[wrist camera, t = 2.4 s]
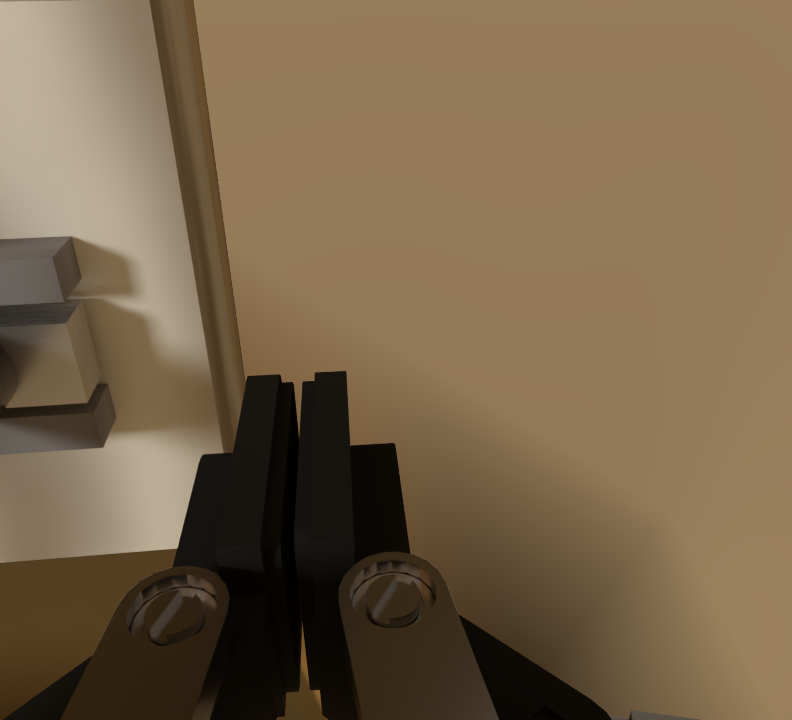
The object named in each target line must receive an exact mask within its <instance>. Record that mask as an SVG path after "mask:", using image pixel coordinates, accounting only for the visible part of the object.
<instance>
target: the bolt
mask: <svg viewBox="0 0 792 720" xmlns="http://www.w3.org/2000/svg"><path fill="white" fill-rule="evenodd" d="M100 377H101V373H100V369H99V365H98V361H97V357H96V353H95V349H94V345H93V341H92V337H91V333H90V329H89V325H88V321H87V317H86V313H85V310H84V306H83V302H82V300H69V301H65V302H60V303H40V304H21V305H1V306H0V415H1V413H2V412H3V411H4V409H5V408H16V407H31V406H47V405H63V404H78V403H88V401H89V399H90V397H91V395H92V393H93V391H94V389H95V387H96V385H97V383H98V381H99V379H100Z"/></svg>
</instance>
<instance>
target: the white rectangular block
mask: <svg viewBox="0 0 792 720" xmlns="http://www.w3.org/2000/svg"><path fill="white" fill-rule="evenodd" d="M69 300H82V302H83V306H84V310H85V313H86V317H87V321H88V325H89V329H90V333H91V337H92V341H93V345H94V349H95V353H96V357H97V361H98V365H99V369H100V373H101V377H100V379H99V381H98V383H97V385H96V387H95V389H94V391H93V393H92V395H91V397H90V399H89V401H88V403H78V404H63V405H47V406H31V407H16V408H5V409H4V411H3V412H2V413H1V415H0V563H3V562H16V561H28V560H40V559H52V558H65V557H77V556H89V555H101V554H114V553H126V552H138V551H150V550H163V549H175V548H178V544H179V540H180V536H181V532H182V528H183V524H184V520H185V516H186V512H187V508H188V504H189V500H190V496H191V492H192V488H193V484H194V480H195V476H196V472H197V468H198V464H199V461H200V458H201V456H202V455H203V454H216V453H233V449H234V444H235V438H236V433H237V428H238V423H239V417H240V412H241V407H242V401H243V396H244V391H245V385H246V384H245V377H244V370H243V362H242V355H241V347H240V340H239V333H238V326H237V318H236V311H235V304H234V296H233V289H232V281H231V274H230V267H229V259H228V252H227V245H226V237H225V230H224V223H223V215H222V208H221V201H220V194H219V186H218V179H217V171H216V164H215V158H214V149H213V142H212V135H211V127H210V120H209V112H208V105H207V98H206V91H205V83H204V77H203V69H202V61H201V54H200V47H199V39H198V32H197V25H196V17H195V11H194V3H193V0H0V306H1V305H21V304H40V303H60V302H65V301H69Z"/></svg>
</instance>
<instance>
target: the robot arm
mask: <svg viewBox="0 0 792 720" xmlns="http://www.w3.org/2000/svg"><path fill="white" fill-rule="evenodd" d="M300 420H301V421H300V437H299V434H298V423H297V413H296V402H295V393H294V384H293V382H286V383H282V380H281V376H280V375H261V376H248V377H247V380H246V385H245V391H244V396H243V401H242V407H241V412H240V417H239V423H238V428H237V433H236V438H235V444H234V449H233V453H216V454H203V455H202V456H201V458H200V461H199V464H198V468H197V472H196V476H195V480H194V484H193V488H192V492H191V496H190V500H189V504H188V508H187V512H186V516H185V520H184V524H183V528H182V532H181V536H180V540H179V544H178V548H177V552H176V556H175V560H174V564H173V567H172V568H169V569H165V570H162V571H159V572H156V573H154V574H152V575H150V576H148V577H147V578H145V579H143V580H141V581H140V582H139V583H137V584H136V585H135V586H134V587H133V588H132V589H130V590H129V591H128V592H127V593H126V595H125V596H124V598H123V599H122V600H121V602H120V603H119V605H118V606H117V608H116V610H115V612H114V614H113V616H112V618H111V620H110V622H109V624H108V626H107V628H106V630H105V632H104V634H103V636H102V638H101V640H100V642H99V644H98V646H97V648H96V650H95V652H94V654H93V655H92V656H91V657H90V658H88V659H87V660H85V661H84V662H83V663H81V664H80V665H78V666H77V667H76V668H74V669H73V670H71V671H70V672H69V673H67V674H66V675H65V676H63V677H62V678H60V679H59V680H58V681H56V682H55V683H53V684H52V685H51V686H49V687H48V688H46V689H45V690H44V691H42V692H41V693H39V694H38V695H37V696H35V697H34V698H32V699H31V700H30V701H28V702H27V703H26V704H24V705H23V706H21V707H20V708H19V709H17V710H16V711H14V712H13V713H12V714H10V715H9V716H7V717H6V718H5V719H3V720H276V719H277V717H282V716H285V704H286V692H298V691H299V688H300V666H301V639H302V623H303V632H304V639H305V649H306V658H307V667H308V676H309V685H310V690H320V694H321V705H322V715H323V716H325V717H326V718H327V719H328V720H698V719H691V718H684V717H676V716H669V715H662V714H655V713H648V712H641V711H633V710H631V712H630V716H629V718H623V717H615V716H609V715H608V714H607V712H606V711H604V710H603V709H602V708H601V707H600V706H598V705H597V704H596V703H595V702H593V701H592V700H591V699H589V698H588V697H587V696H585V695H583V694H582V693H580V692H579V691H577V690H575V689H574V688H572V687H571V686H569V685H568V684H566V683H565V682H563V681H562V680H560V679H558V678H557V677H555V676H554V675H552V674H551V673H549V672H548V671H546V670H544V669H543V668H541V667H539V666H538V665H537V664H535V663H534V662H531V661H530V660H529V659H527V658H526V657H524V656H523V655H521V654H519V653H518V652H516V651H514V650H513V649H512V648H510V647H508V646H507V645H505V644H504V643H502V642H501V641H499V640H498V639H496V638H495V637H493V636H491V635H490V634H488V633H487V632H485V631H484V630H482V629H481V628H479V627H477V626H476V625H474V624H473V623H471V622H469V621H468V620H466V619H465V618H463V617H462V616H460V615H459V614H458V612H457V610H456V607H455V605H454V602H453V599H452V597H451V594H450V592H449V589H448V586H447V584H446V582H445V580H444V578H443V577H442V575H441V573H440V572H439V570H438V569H437V568H435V567H434V566H433V565H432V564H431V563H430V562H428V561H427V560H425V559H422V558H420V557H418V556H416V555H414V554H410V548H409V541H408V534H407V526H406V519H405V512H404V505H403V498H402V490H401V483H400V475H399V468H398V461H397V454H396V447H395V444H394V443H387V444H370V445H354V446H350V433H349V416H348V395H347V376H346V371H338V372H320V373H315V381H305V382H303V385H302V401H301V419H300Z"/></svg>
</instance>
